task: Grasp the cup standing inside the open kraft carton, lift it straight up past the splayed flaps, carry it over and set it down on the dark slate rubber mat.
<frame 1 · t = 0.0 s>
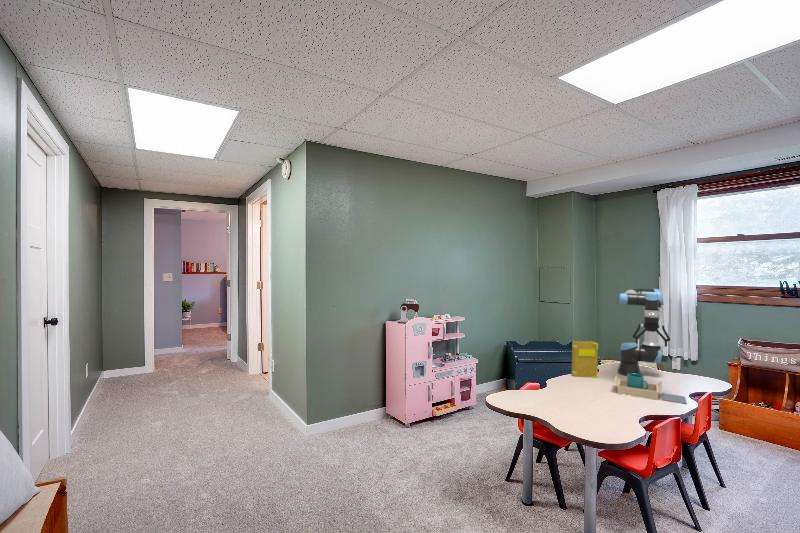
hand: (650, 350, 252), 28 cm above the table, fingers open, 13 cm apart
book: (583, 376, 294), on the table
cup: (637, 393, 255), resting in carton
mat: (673, 398, 245), on the table
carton: (637, 393, 255), on the table
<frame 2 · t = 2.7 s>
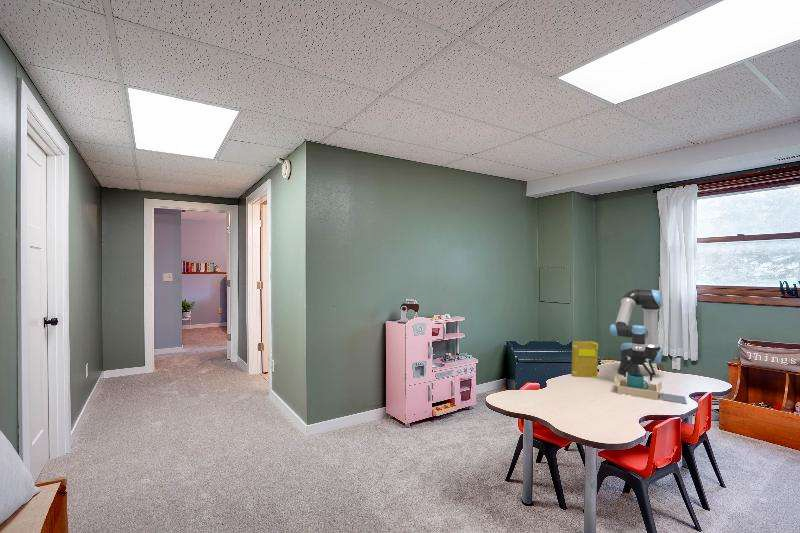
hand: (637, 384, 255), 6 cm above the table, fingers closed on cup, 12 cm apart
cup: (637, 393, 255), resting in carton, touching gripper
everything else where it was.
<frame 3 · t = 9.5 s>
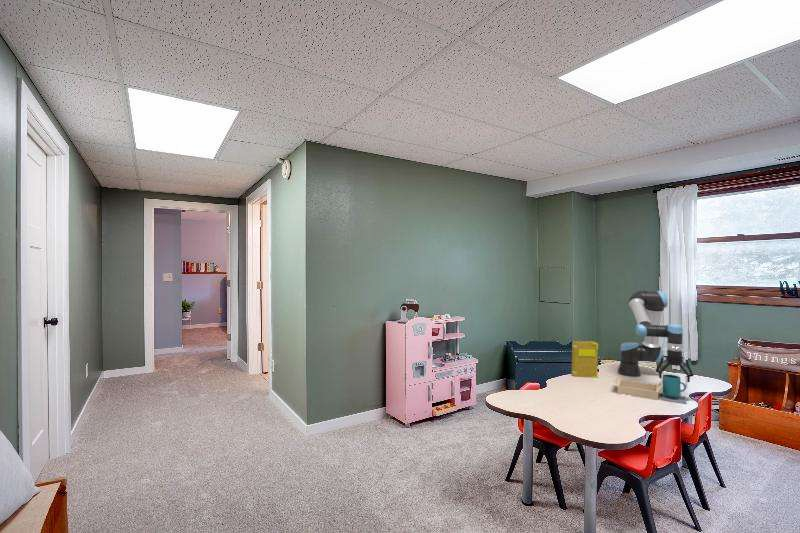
hand: (673, 385, 245), 8 cm above the table, fingers closed on cup, 12 cm apart
cup: (674, 395, 245), point 2 cm above the table, touching gripper
everything else where it was.
when the fingers open (8 cm above the table, at t = 10.0 s): cup drops 2 cm, resting on mat.
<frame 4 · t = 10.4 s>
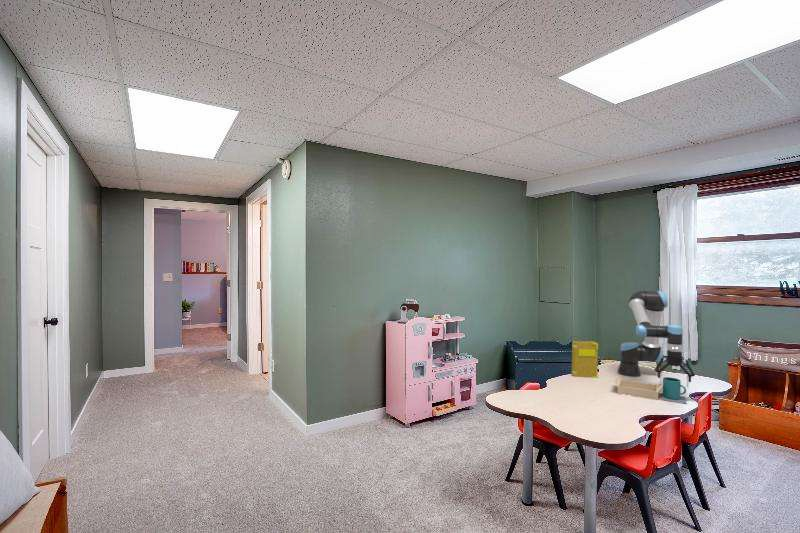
hand: (673, 385, 245), 8 cm above the table, fingers open, 13 cm apart
cup: (674, 398, 245), resting on mat
everything else where it was.
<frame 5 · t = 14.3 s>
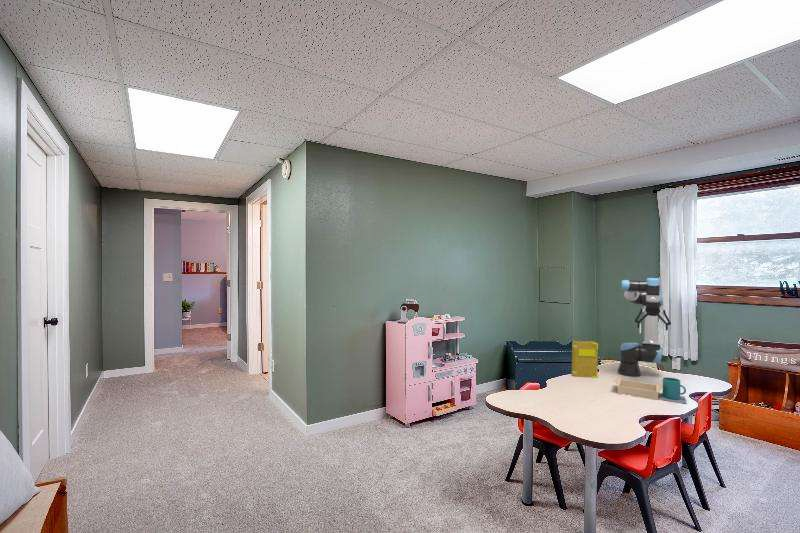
hand: (652, 334, 261), 37 cm above the table, fingers open, 13 cm apart
nothing on the table moved.
at the end: cup inside the target area on the mat (0.2 cm from its centre), point 0.2 cm above the mat's base; cup tilted 0°; the gripper is holding nothing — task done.
